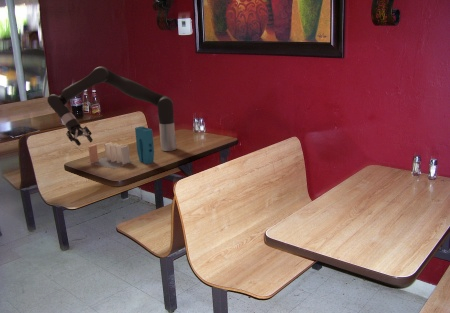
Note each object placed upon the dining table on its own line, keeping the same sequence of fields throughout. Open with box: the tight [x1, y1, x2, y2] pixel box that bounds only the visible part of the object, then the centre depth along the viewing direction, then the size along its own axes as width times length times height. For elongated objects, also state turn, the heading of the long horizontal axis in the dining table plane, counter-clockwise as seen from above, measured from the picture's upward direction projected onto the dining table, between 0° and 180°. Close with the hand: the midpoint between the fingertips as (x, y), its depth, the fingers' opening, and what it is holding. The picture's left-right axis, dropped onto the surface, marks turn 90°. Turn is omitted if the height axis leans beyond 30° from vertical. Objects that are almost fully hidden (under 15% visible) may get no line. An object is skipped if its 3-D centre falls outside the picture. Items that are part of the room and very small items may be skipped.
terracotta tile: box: [87, 144, 99, 164], centre depth 268 cm, size 1×5×10 cm, turn 145°
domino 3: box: [115, 143, 124, 163], centre depth 267 cm, size 1×5×10 cm, turn 145°
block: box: [134, 126, 155, 165], centre depth 265 cm, size 12×5×20 cm, turn 40°
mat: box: [87, 155, 134, 170], centre depth 269 cm, size 23×15×1 cm, turn 56°
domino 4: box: [121, 144, 131, 165], centre depth 265 cm, size 1×5×10 cm, turn 145°
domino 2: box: [110, 142, 119, 162], centre depth 270 cm, size 1×5×10 cm, turn 146°
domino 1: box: [103, 141, 113, 161], centre depth 272 cm, size 1×5×10 cm, turn 145°
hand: (85, 143), depth 270 cm, fingers open, 8 cm apart
